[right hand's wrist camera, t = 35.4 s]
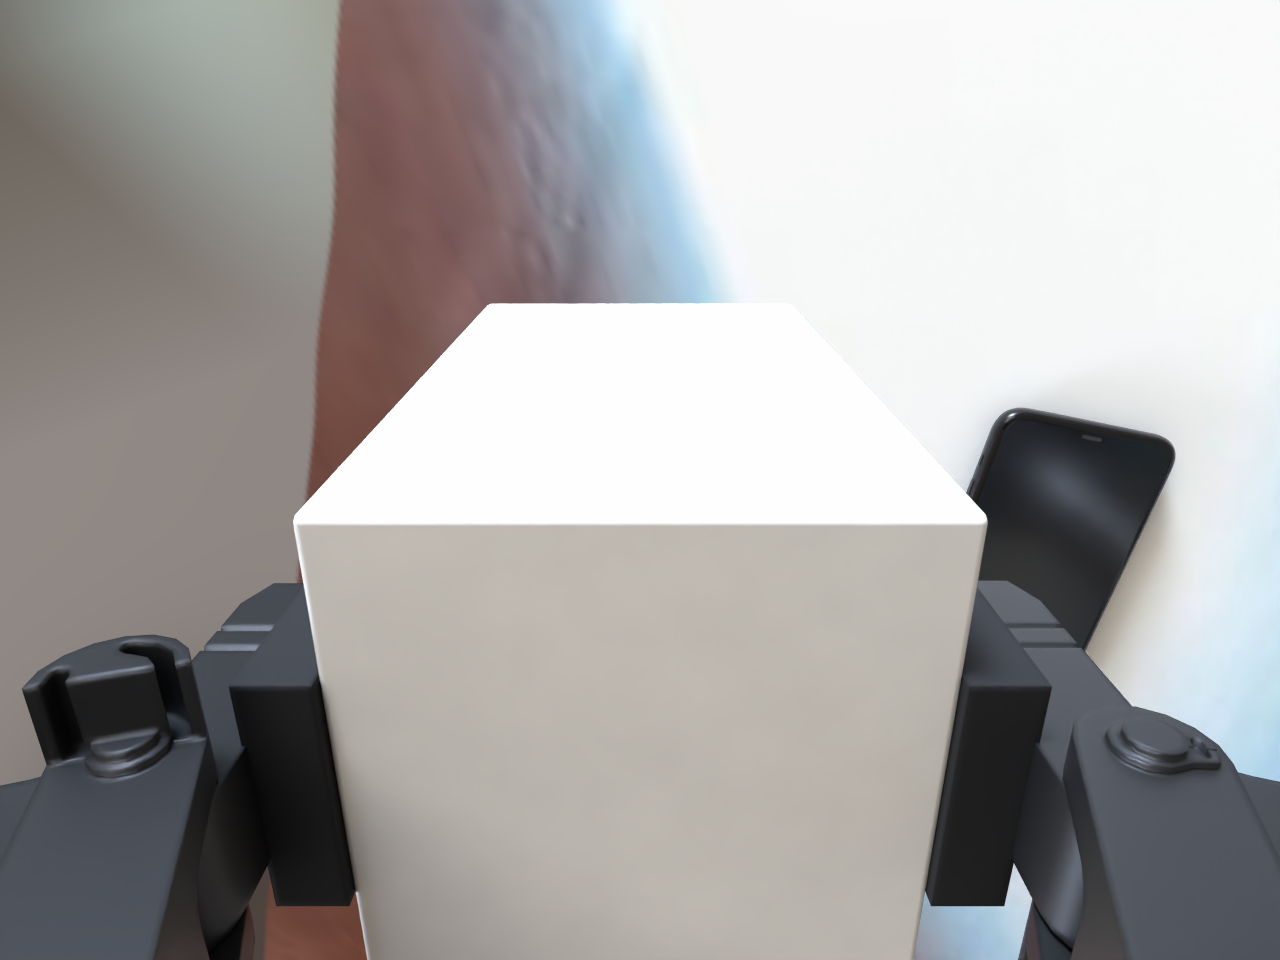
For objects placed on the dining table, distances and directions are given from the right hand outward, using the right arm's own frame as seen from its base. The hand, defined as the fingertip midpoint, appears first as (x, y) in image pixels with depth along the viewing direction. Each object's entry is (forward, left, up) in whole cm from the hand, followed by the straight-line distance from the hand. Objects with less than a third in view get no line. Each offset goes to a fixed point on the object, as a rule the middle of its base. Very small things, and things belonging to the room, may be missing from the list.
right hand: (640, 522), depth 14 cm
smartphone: (-15, +15, -21) cm, 29 cm away
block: (0, 0, -4) cm, 4 cm away
